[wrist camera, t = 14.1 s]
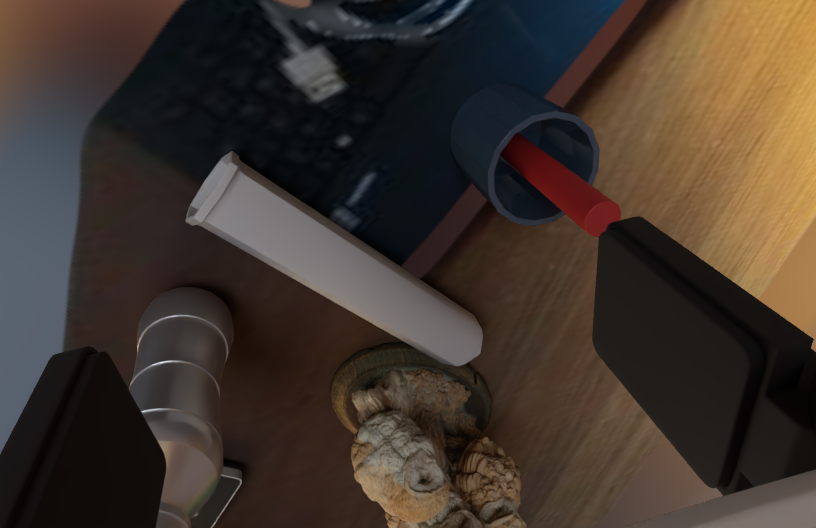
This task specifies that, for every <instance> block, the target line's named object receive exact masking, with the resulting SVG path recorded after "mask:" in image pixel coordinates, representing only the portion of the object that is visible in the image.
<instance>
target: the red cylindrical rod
mask: <svg viewBox="0 0 816 528" xmlns="http://www.w3.org/2000/svg"><path fill="white" fill-rule="evenodd" d="M500 157H501V158H503V159H504V160H505V161H506V162H507V163H508V164H509V165H511V166H512V167H513V168H514V169H515V170H516V171H517V172H519V173H520V174H521V175H522V176H523V177H524V178H525V179H526V180H528V181H529V182H530V183H531V184H532V185H533V186H534V187H536V188H537V189H538V190H539V191H540V192H541V193H542V194H544V195H545V196H546V197H547V198H548V199H549V200H550V201H552V202H553V203H554V204H555V205H556V206H557V207H558V208H559V209H561V210H562V211H563V212H564V213H565V214H566V215H567V216H569V217H570V218H571V219H572V220H573V221H574V222H575V223H577V224H578V225H579V226H580V227H581V228H582V229H583V230H585V231H586V232H587V233H588V234H589V235H591V236H594V237H600V235H601V233H602V232H605V231H606V228H607V226H608V224H610V223H611V222H615V221H619V220H620V216H621V212H620V208H619V206H618V205H617V204H616V203H615V202H613V201H612V200H611V199H609V198H608V197H606V196H605V195H604V194H602V193H601V192H600V191H598V190H597V189H595V188H594V187H593V186H591V185H590V184H588V183H587V182H586V181H584V180H583V179H582V178H580V177H579V176H577V175H576V174H575V173H573V172H572V171H571V170H569V169H568V168H566V167H565V166H564V165H562V164H561V163H559V162H558V161H557V160H555V159H554V158H553V157H551V156H550V155H548V154H547V153H546V152H544V151H543V150H541V149H540V148H539V147H537V146H536V145H535V144H533V143H532V142H530V141H529V140H528V139H526V138H525V137H524V136H522V135H521V134H519V133H516V134H515V135H514V136H513V138H512V139H511V140H510V142H509V143H508V144H507V145H506V147H505V148H504V149H503V150H502V152H501V154H500Z"/></svg>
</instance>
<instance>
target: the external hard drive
mask: <svg viewBox="0 0 816 528" xmlns="http://www.w3.org/2000/svg"><path fill="white" fill-rule="evenodd" d="M241 484H242V468H241V466H240V465H238V464H233V463H229V462H224V461H223V471H222V474H221V477H220V479H219V482H218V484H217V486H216V488H215V491H214V492H213V494H212V495H211V497H210V498H209V499H208V501H207V502H206V503H205V504H204V505H203V506H202V508H201V509H200V510H199V511H198V512H197V513H196V514H195V515H194V516H193V517H192V518H191V519H190V521H191V528H213V526H214V525H215V523H216V522H217V520H218V519H219V517H220V516H221V514H222V513H223V511H224V510H225V508H226V507H227V505H228V504H229V502H230V501H231V499H232V498H233V496H234V495H235V493H236V491H237V490H238V488H239V487H240V485H241Z"/></svg>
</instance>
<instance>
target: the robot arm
mask: <svg viewBox="0 0 816 528" xmlns="http://www.w3.org/2000/svg"><path fill="white" fill-rule="evenodd" d="M592 339H593V344H594V347H595V350H596V352H597V353H598V355H599V356H600V357H601V359H602V360H603V361H604V362H605V364H606V365H607V366H608V367H609V368H610V370H611V371H612V372H613V373H614V374H615V376H616V377H617V378H618V379H619V381H620V382H621V383H622V384H623V385H624V387H625V388H626V389H627V390H628V391H629V393H630V394H631V395H632V396H633V398H634V399H635V400H636V401H637V402H638V404H639V405H640V406H641V407H642V408H643V410H644V411H645V412H646V413H647V415H648V416H649V417H650V418H651V419H652V421H653V422H654V423H655V424H656V425H657V427H658V428H659V429H660V430H661V431H662V433H663V434H664V435H665V436H666V438H667V439H668V440H669V441H670V442H671V444H672V445H673V446H674V447H675V448H676V450H677V451H678V452H679V453H680V455H681V456H682V457H683V458H684V459H685V461H686V462H687V463H688V464H689V465H690V467H691V468H692V469H693V470H694V472H695V473H696V474H697V475H698V476H699V478H700V479H701V480H702V481H703V482H704V483H705V484H706V485H707V486H709V487H711V488H717V489H718V490H719V491H720V492H721V494H722V495H723V496H722V497H719V498H715V499H712V500H709V501H706V502H703V503H700V504H696V505H693V506H690V507H687V508H684V509H680V510H677V511H674V512H670V513H667V514H664V515H661V516H657V517H654V518H651V519H648V520H644V521H641V522H638V523H635V524H632V525H629V526H625V527H622V528H816V352H815V351H814V350H812V349H811V346H812V343H813V340H814V339H813V338H811V337H810V336H808V335H807V334H805V333H804V332H803V331H801V330H800V329H798V328H797V327H796V326H794V325H793V324H792V323H790V322H789V321H787V320H786V319H784V318H783V317H781V316H780V315H779V314H778V313H776V312H775V311H773V310H772V309H770V308H769V307H768V306H766V305H765V304H763V303H762V302H760V301H759V300H758V299H756V298H755V297H754V296H752V295H751V294H749V293H748V292H747V291H745V290H744V289H742V288H741V287H739V286H738V285H737V284H735V283H734V282H732V281H731V280H730V279H728V278H727V277H725V276H724V275H723V274H721V273H720V272H718V271H717V270H716V269H714V268H713V267H711V266H710V265H709V264H707V263H706V262H704V261H703V260H701V259H700V258H699V257H697V256H696V255H694V254H693V253H692V252H690V251H689V250H687V249H686V248H685V247H683V246H682V245H680V244H679V243H678V242H676V241H675V240H673V239H672V238H671V237H669V236H668V235H666V234H665V233H663V232H662V231H661V230H659V229H658V228H656V227H655V226H654V225H652V224H651V223H649V222H648V221H647V220H645V219H644V218H642V217H640V216H639V217H632V218H628V219H624V220H620V221H615V222H611V223H610V224H608V226H607V228H606V231H605V232H602V233H601V235H600V237H599V246H598V261H597V276H596V290H595V305H594V320H593V334H592ZM165 475H166V459H165V455H164V452H163V450H162V448H161V446H160V445H159V443H158V441H157V439H156V437H155V436H154V434H153V432H152V430H151V429H150V427H149V425H148V423H147V421H146V420H145V418H144V416H143V414H142V413H141V411H140V409H139V407H138V405H137V404H136V402H135V400H134V398H133V396H132V395H131V393H130V391H129V389H128V388H127V386H126V384H125V382H124V380H123V379H122V377H121V375H120V373H119V372H118V370H117V368H116V366H115V364H114V363H113V361H112V359H111V357H110V356H109V355H108V354H107V353H106V352H99V353H98V352H97V351H96V350H95V349H94V348H93V347H89V346H88V347H84V348H80V349H76V350H71V351H67V352H63V353H59V354H55V355H53V356H52V357H51V358H50V360H49V361H48V364H47V365H46V367H45V369H44V371H43V373H42V375H41V377H40V379H39V381H38V383H37V385H36V387H35V388H34V391H33V392H32V394H31V396H30V398H29V400H28V402H27V404H26V406H25V408H24V410H23V412H22V414H21V416H20V417H19V419H18V422H17V423H16V425H15V427H14V429H13V431H12V433H11V435H10V437H9V439H8V441H7V442H6V444H5V446H4V449H3V450H2V452H1V454H0V528H156V523H157V518H158V513H159V507H160V502H161V496H162V491H163V486H164V480H165Z"/></svg>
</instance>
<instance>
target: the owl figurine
mask: <svg viewBox="0 0 816 528" xmlns="http://www.w3.org/2000/svg"><path fill="white" fill-rule="evenodd" d="M475 374H476V378H477V384H475V380H474V379H475V378H474V369H473V368H472V367H471V366H470V365H469V364H467V363H466V364H464V365H460V366H453V365H447V364H442V363H441V362H439V361H437V360H435V359H434V358H432V357H430V356H428V355H427V354H425V353H423V352H421V351H420V350H418V349H416V348H414V347H413V346H411V345H409V344H407V343H392V344H390V343H389V344H383V345H381V346H379V347H376V348H375V349H374V350H370V349H365V350H361V351H360V352H358V353H355V354H354V355H353V356H351V358H349V359H348V360H347V361H346V362H345V363H344V364H343V365H342V366H341V367H340V368H339V370H338V371H337V372H336V373H335V375H334V377H333V379H332V382H331V383H332V384H331V386H330V387H331V388H330V389H331V399H332V400H331V401H332V406H333V408H334V410H335V413H336V415H337V416H338V418H339V419H340V420H341V422H342V423H343V424H344V426H346V428H347V429H349V430H350V431H351V432H352V433H354V434H355V438H354V443H353V445H352V447H351V449H352V451H351V459H352V464H353V466H354V469H355V473H354V476H355V479H356V481H357V482H359V483H360V484H362V489H363V491H364V492H365V493H366V494H367V495H368V497H369V498H370V499H371V500H372V501H377V502H378V503H379V504H380V505H381V507H382V508H383V509H384V510H385V512H386V513H385V517H386V519H387V521H388V522H387V524H388V526H389V528H527V525H526V523H525V522H524V521H523V520H522V519H521V517H520V516H519V515H518V512H517V509H518V508H519V506H520V504H521V502H520V495H519V492H520V490H521V481H520V478H519V476H520V469H519V468H518V467H517V466H515V463H514V460H513V459H512V457H510V456H507V454H506V453H505V452H504V450H503V449H502V448H501V446H500V445H498V444H497V443H496V442H494V441H490V440H489V438H488V437H483V438H482V437H481V438H480V439H479V440H478V439H477V438H478V437H479V436H480V434H481V433H482V432H483V430H484V429H485V428H486V426H487V425H488V423H489V419H490V415H491V399H490V395H489V392H488V389H487V387H486V385H485V383H484V381H483V380H482V378H481V376H480V375H479V374H478V373H475Z"/></svg>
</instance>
